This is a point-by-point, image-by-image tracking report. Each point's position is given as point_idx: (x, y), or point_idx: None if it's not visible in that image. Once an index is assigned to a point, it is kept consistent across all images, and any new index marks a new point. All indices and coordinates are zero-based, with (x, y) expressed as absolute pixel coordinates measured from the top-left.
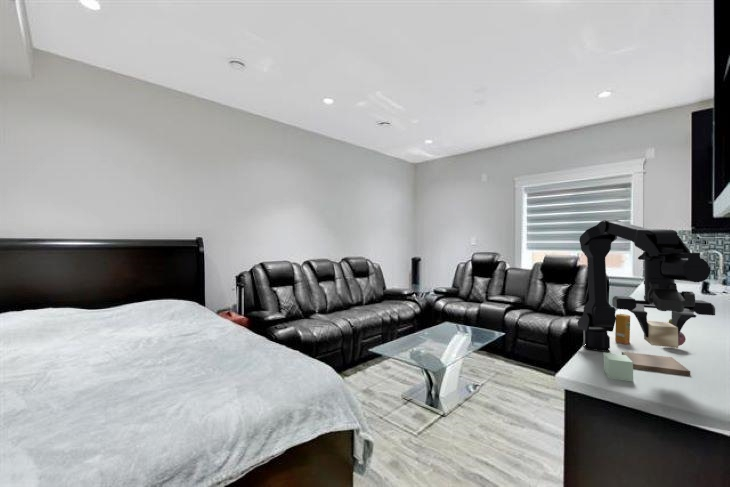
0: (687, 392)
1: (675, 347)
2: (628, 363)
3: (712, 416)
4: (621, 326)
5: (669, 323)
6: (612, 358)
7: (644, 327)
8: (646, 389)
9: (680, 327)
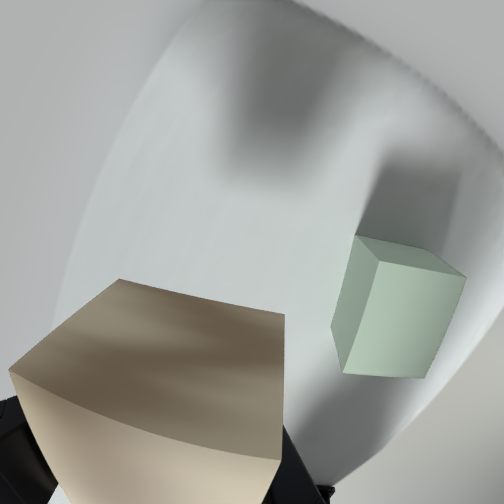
0: (196, 167)
1: (133, 283)
2: (393, 261)
3: None
4: None
5: (66, 490)
6: (442, 299)
7: (299, 476)
8: (345, 154)
9: (7, 406)
